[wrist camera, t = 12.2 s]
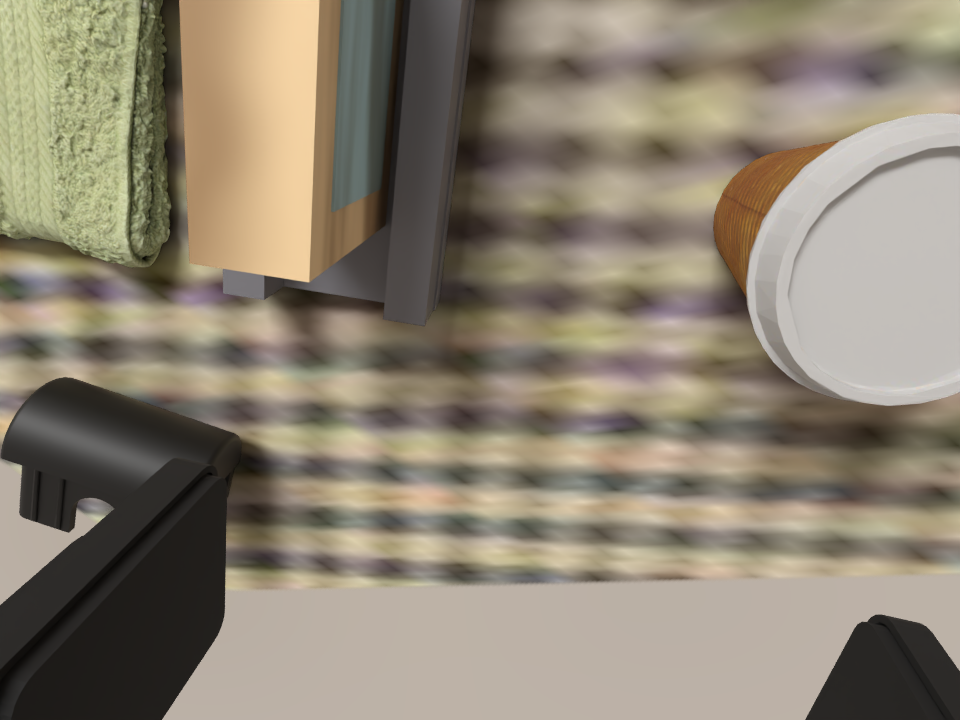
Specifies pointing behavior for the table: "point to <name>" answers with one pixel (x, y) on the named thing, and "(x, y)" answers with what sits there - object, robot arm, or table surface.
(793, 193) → the disposable coffee cup
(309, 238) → the wooden picture frame
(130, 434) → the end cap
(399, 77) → the picture stand
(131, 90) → the washcloth
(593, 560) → the table surface
